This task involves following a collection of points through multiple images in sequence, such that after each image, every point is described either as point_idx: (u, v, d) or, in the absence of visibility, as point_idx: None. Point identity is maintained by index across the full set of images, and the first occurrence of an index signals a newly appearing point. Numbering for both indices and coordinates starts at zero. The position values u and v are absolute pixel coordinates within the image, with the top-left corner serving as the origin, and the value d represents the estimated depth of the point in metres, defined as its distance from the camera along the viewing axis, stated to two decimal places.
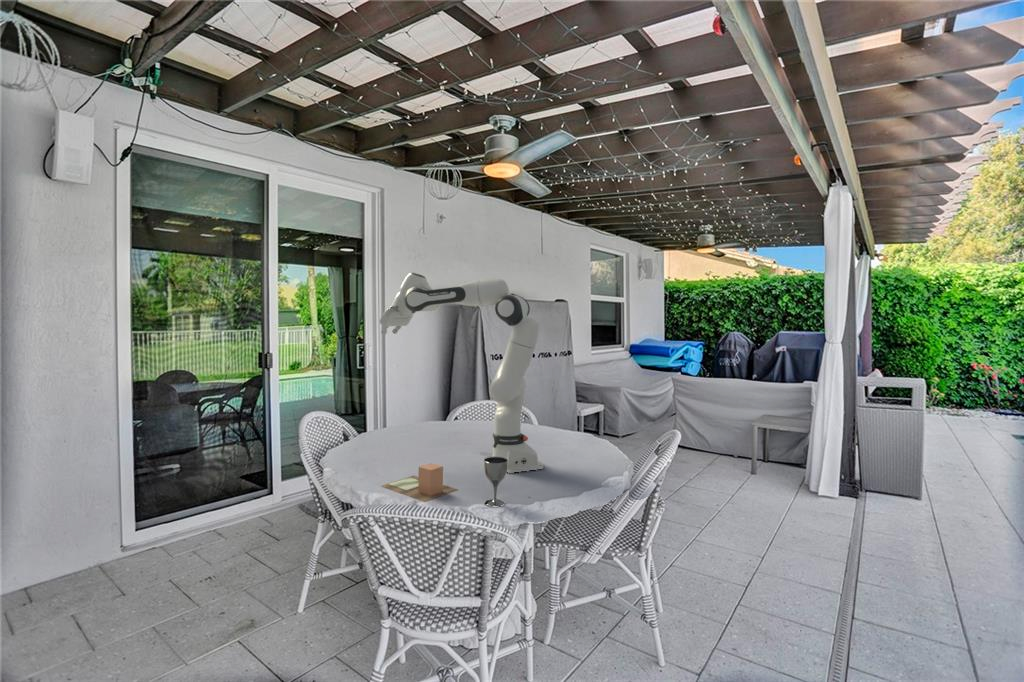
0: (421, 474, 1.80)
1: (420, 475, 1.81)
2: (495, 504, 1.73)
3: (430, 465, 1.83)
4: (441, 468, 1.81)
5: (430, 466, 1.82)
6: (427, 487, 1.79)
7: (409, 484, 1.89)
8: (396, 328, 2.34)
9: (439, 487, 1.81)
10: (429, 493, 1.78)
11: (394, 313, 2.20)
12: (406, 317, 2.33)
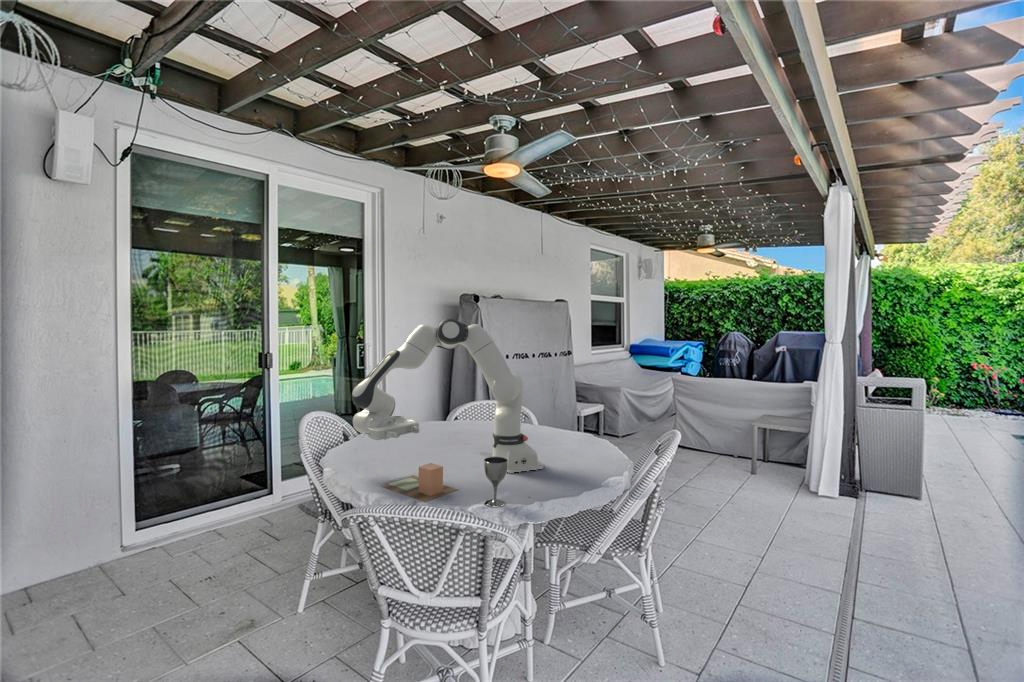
0: (421, 474, 1.80)
1: (420, 475, 1.81)
2: (495, 504, 1.73)
3: (430, 465, 1.83)
4: (441, 468, 1.81)
5: (430, 466, 1.82)
6: (427, 487, 1.79)
7: (409, 484, 1.89)
8: (414, 430, 1.94)
9: (439, 487, 1.81)
10: (429, 493, 1.78)
11: (372, 426, 1.90)
12: (403, 422, 1.98)
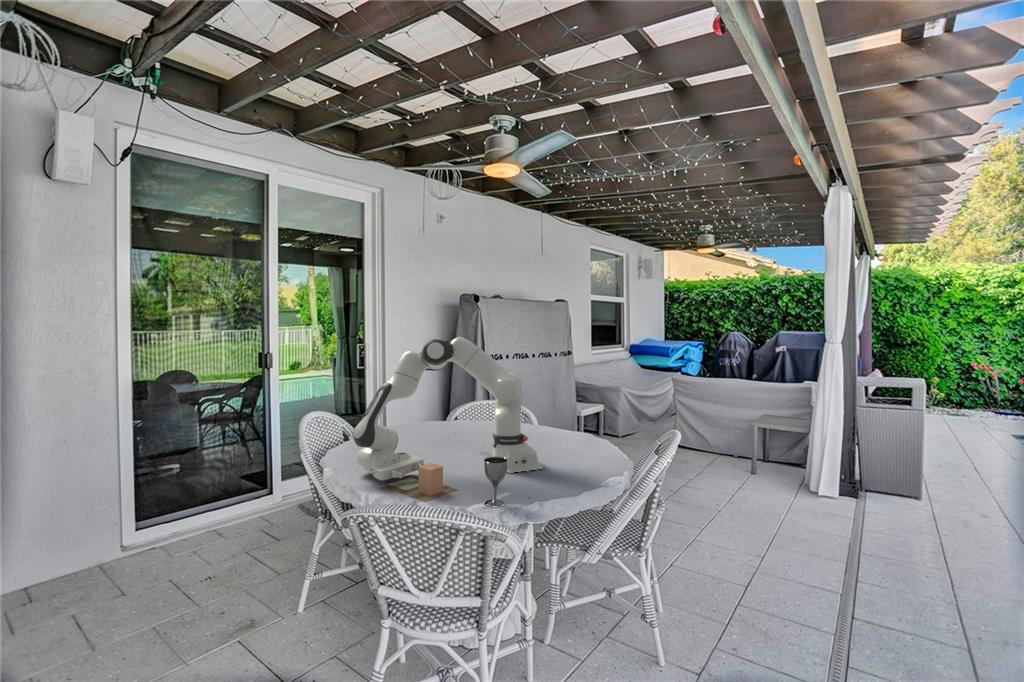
0: (421, 474, 1.80)
1: (420, 475, 1.81)
2: (495, 504, 1.73)
3: (430, 465, 1.83)
4: (441, 468, 1.81)
5: (430, 466, 1.82)
6: (427, 487, 1.79)
7: (409, 484, 1.89)
8: None
9: (439, 487, 1.81)
10: (429, 493, 1.78)
11: (377, 465, 1.89)
12: (408, 460, 1.97)
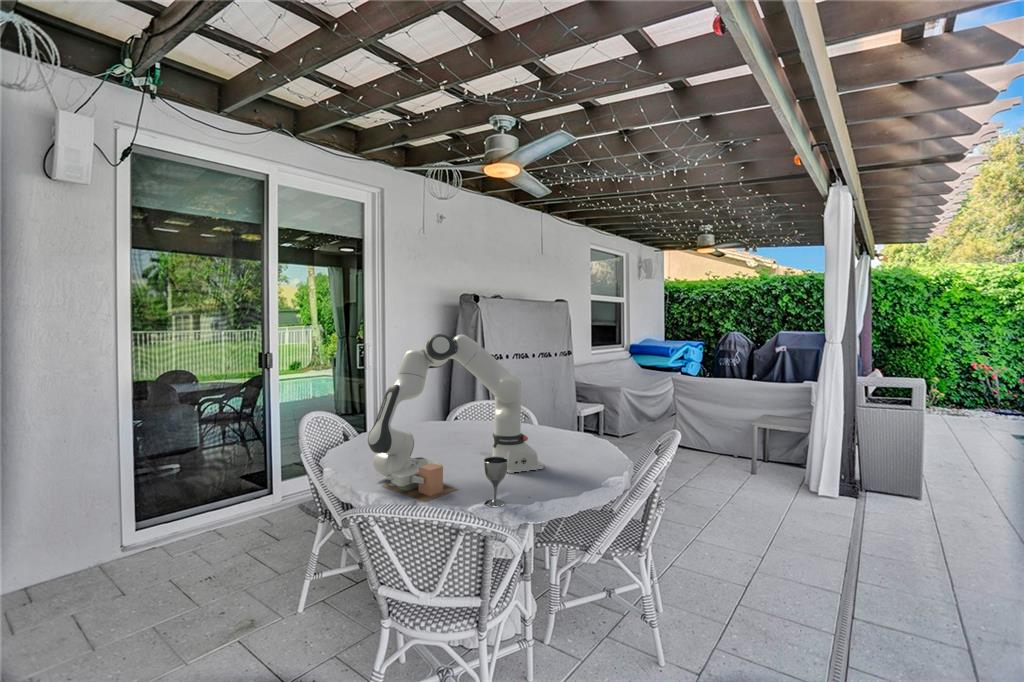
0: (421, 474, 1.80)
1: (420, 475, 1.81)
2: (495, 504, 1.73)
3: (430, 465, 1.83)
4: (441, 468, 1.81)
5: (430, 466, 1.82)
6: (427, 487, 1.79)
7: (409, 484, 1.89)
8: None
9: (439, 487, 1.81)
10: (429, 493, 1.78)
11: (395, 471, 1.83)
12: None
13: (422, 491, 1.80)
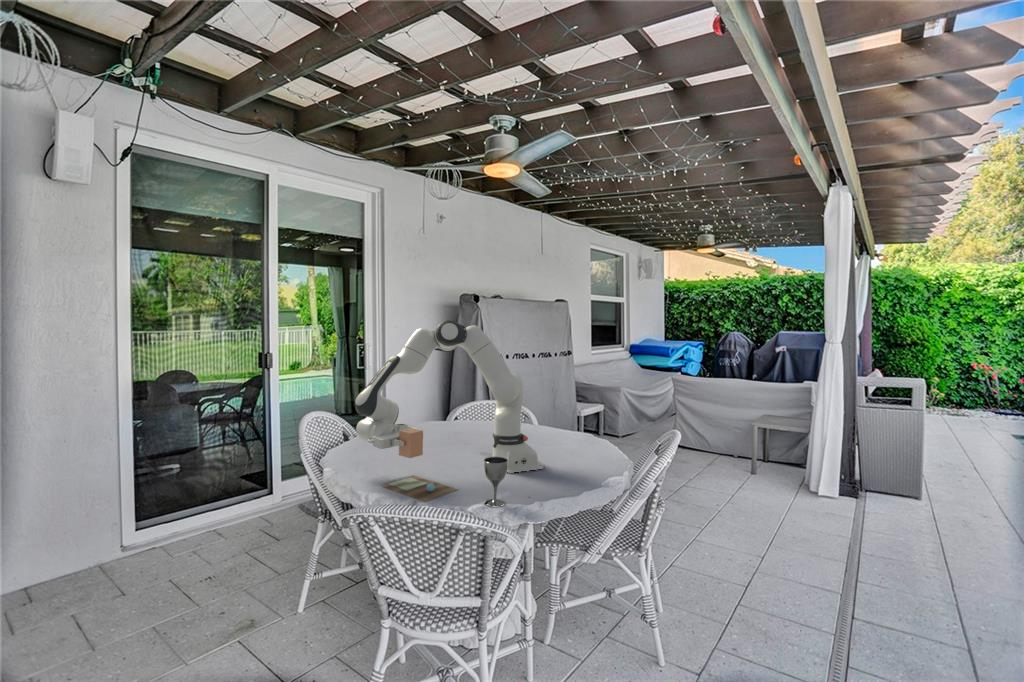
0: (401, 437, 1.86)
1: (401, 439, 1.86)
2: (495, 504, 1.73)
3: (410, 429, 1.89)
4: (421, 432, 1.87)
5: (410, 430, 1.87)
6: (407, 450, 1.84)
7: (409, 484, 1.89)
8: None
9: (419, 450, 1.87)
10: (409, 456, 1.84)
11: (376, 435, 1.88)
12: None
13: (402, 454, 1.86)
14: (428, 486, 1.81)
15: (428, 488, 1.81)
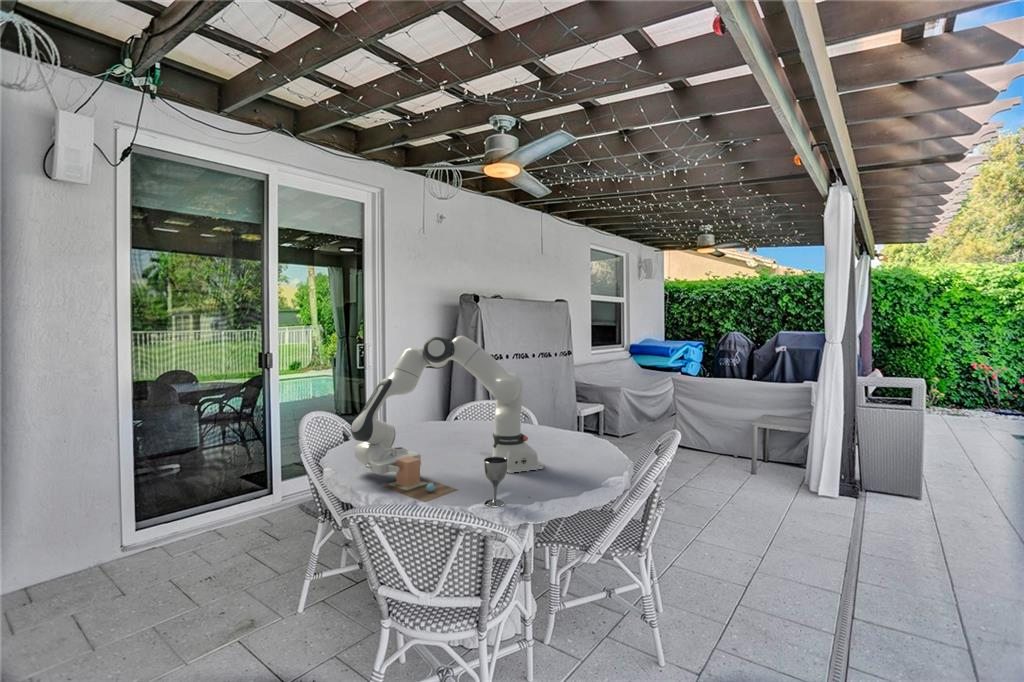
0: None
1: None
2: (495, 504, 1.73)
3: (408, 458, 1.90)
4: (418, 461, 1.89)
5: (408, 459, 1.89)
6: (404, 479, 1.86)
7: None
8: None
9: (416, 479, 1.89)
10: (406, 485, 1.85)
11: (374, 460, 1.90)
12: (405, 454, 1.98)
13: (400, 483, 1.88)
14: (428, 486, 1.81)
15: (428, 488, 1.81)
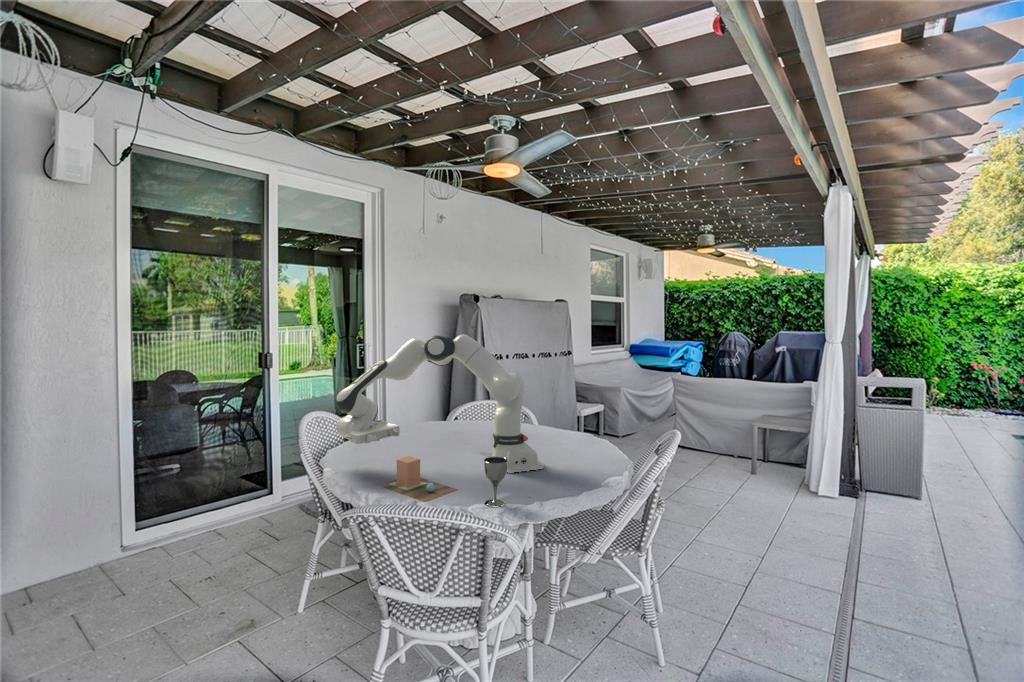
0: (399, 467, 1.88)
1: (398, 468, 1.88)
2: (495, 504, 1.73)
3: (408, 458, 1.90)
4: (418, 461, 1.89)
5: (408, 459, 1.89)
6: (404, 479, 1.86)
7: None
8: None
9: (416, 479, 1.89)
10: (406, 485, 1.85)
11: (353, 431, 1.97)
12: (384, 426, 2.06)
13: (400, 483, 1.88)
14: (428, 486, 1.81)
15: (428, 488, 1.81)
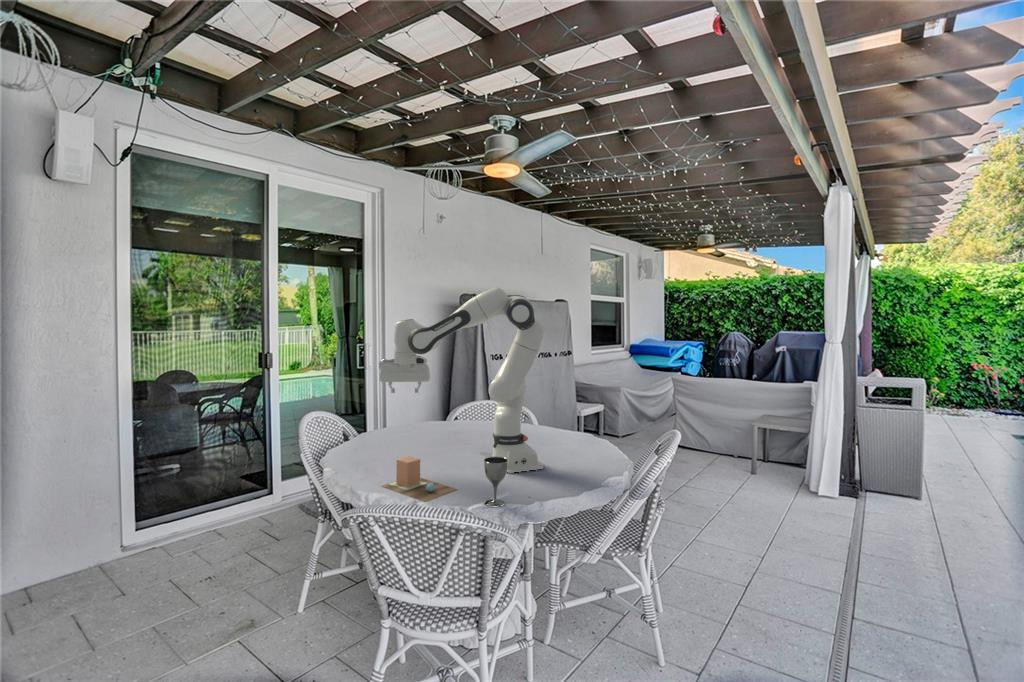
0: (399, 467, 1.88)
1: (398, 468, 1.88)
2: (495, 504, 1.73)
3: (408, 458, 1.90)
4: (418, 461, 1.89)
5: (408, 459, 1.89)
6: (404, 479, 1.86)
7: None
8: None
9: (416, 479, 1.89)
10: (406, 485, 1.85)
11: (386, 365, 2.07)
12: (419, 371, 2.10)
13: (400, 483, 1.88)
14: (428, 486, 1.81)
15: (428, 488, 1.81)
